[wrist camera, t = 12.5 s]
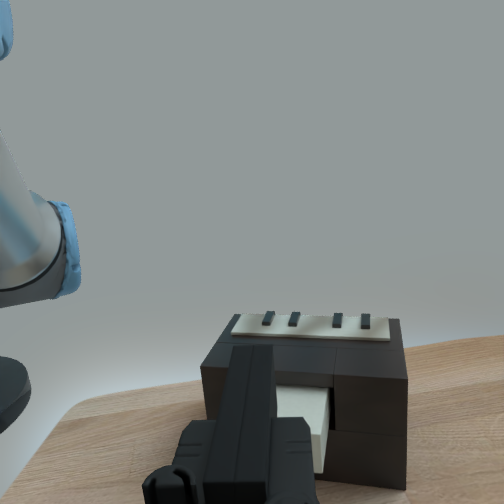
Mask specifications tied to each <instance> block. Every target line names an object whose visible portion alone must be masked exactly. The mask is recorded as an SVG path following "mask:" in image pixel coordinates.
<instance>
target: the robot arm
mask: <svg viewBox="0 0 504 504" xmlns="http://www.w3.org/2000/svg"><path fill="white" fill-rule="evenodd" d="M12 44H13V24H12V14H11V8H10V4H9V0H0V61H1V60H3V59H4V58H5V57H6V56H7V55H8V54H9V53H10V51H11V48H12ZM79 262H80V255H79V248H78V240H77V235H76V229H75V224H74V219H73V216H72V212H71V210H70V208H69V206H68V205H67V204H66V203H64V202H55V201H45V200H44V199H43V198H42V197H40V196H39V195H38V194H36V193H34V192H32V191H30V190H28V188H27V186H26V184H25V182H24V179H23V177H22V175H21V173H20V171H19V169H18V166H17V164H16V162H15V160H14V158H13V156H12V153H11V151H10V149H9V147H8V145H7V143H6V140H5V138H4V136H3V134H2V132H1V130H0V308H3V307H9V306H14V305H20V304H24V303H30V302H35V301H40V300H46V299H57V298H59V297H60V296H63V295H67V294H70V293H73V292H75V291H76V290H77V289H78V288H79V286H80V283H81V267H80V264H79ZM277 408H278V405H277V393H276V380H275V367H274V354H273V344H264V345H238V346H233V349H232V353H231V358H230V362H229V367H228V371H227V375H226V380H225V384H224V389H223V393H222V398H221V402H220V406H219V411H218V415H217V420H192V421H191V422H190V424H189V425H188V426H187V427H186V428H185V429H184V430H183V431H182V434H181V437H180V440H179V444H178V447H177V450H176V453H175V457H174V459H173V462H172V465H168V466H164V467H161V468H159V469H157V470H155V471H154V472H152V473H151V474H150V475H149V476H148V477H147V478H146V479H145V481H144V483H143V484H142V489H143V495H144V500H145V504H320V503H319V502H318V500H317V497H316V492H315V479H314V467H313V454H312V442H311V429H310V426H309V425H308V423H307V422H306V421H305V419H304V418H303V417H277Z"/></svg>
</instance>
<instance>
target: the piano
mask: <svg viewBox="0 0 504 504" xmlns="http://www.w3.org/2000/svg"><path fill="white" fill-rule="evenodd" d="M264 344H273V354H274V367H275V380H276V384H285V385H300V386H315V387H329V388H330V402H331V412H330V420H329V428H328V436H327V443H326V451H325V459H324V467H323V473H314V479H318V480H326V481H335V482H343V483H351V484H359V485H367V486H375V487H384V488H392V489H400V490H406V466H407V404H408V376H407V369H406V362H405V355H404V348H403V341H402V334H401V328H400V321H399V319H388V318H379V317H370V314H361V317H343V313H334V316H306V315H304V316H303V315H300V312H292V314H291V315H275V312H274V311H267V313H266V314H234V316H233V317H232V319H231V320H230V322H229V323H228V325H227V326H226V328H225V329H224V331H223V332H222V334H221V335H220V337H219V339H218V340H217V342H216V343H215V344H214V346H213V347H212V349H211V350H210V352H209V354H208V355H207V357H206V358H205V360H204V361H203V363H202V364H201V366H200V369H201V377H202V384H203V392H204V399H205V407H206V414H207V420H217V415H218V411H219V406H220V402H221V398H222V393H223V389H224V384H225V380H226V375H227V371H228V367H229V362H230V358H231V353H232V349H233V346H238V345H264Z"/></svg>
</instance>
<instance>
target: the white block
mask: <svg viewBox="0 0 504 504" xmlns="http://www.w3.org/2000/svg"><path fill="white" fill-rule="evenodd" d="M276 393H277V405H278V408H277V417H303V418H304V419H305V421H306V422H307V423H308V425H309V426H310V429H311V442H312V454H313V467H314V473H323V467H324V459H325V451H326V443H327V436H328V428H329V420H330V412H331V402H330V388H329V387H315V386H300V385H285V384H276Z"/></svg>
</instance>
